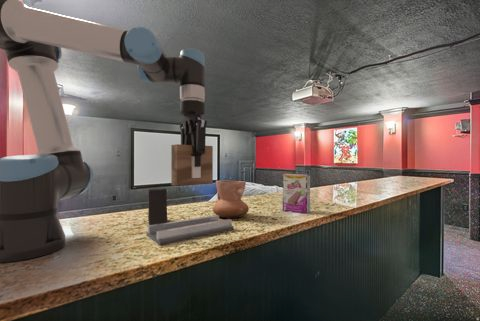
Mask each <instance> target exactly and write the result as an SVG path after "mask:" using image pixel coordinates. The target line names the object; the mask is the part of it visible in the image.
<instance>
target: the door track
mask: <svg viewBox="0 0 480 321" xmlns="http://www.w3.org/2000/svg"><path fill="white" fill-rule="evenodd" d="M234 229H235V228H234V225H233V220H232V218H226V219H220V216H219V215H216V214H215V215H208V216H202V217H195V218H188V219H181V220H175V221H170V222H168V221H167V223H161V224H155V225H149V224H148V225H147V231H146V236H147V237H148V238H150V239H151V240H152V241H153V242H155V243H156V244H157V245H159V246H161V245H165V244H166V245H167V244H171V243H176V242H177V243H178V242H180V241H182V242H183V241H185V240H191V239H195V238H196V239H197V238H200V237H201V238H202V237H205V236H209V235H210V236H211V235H215V234H220V233H224V232H228V231H234Z"/></svg>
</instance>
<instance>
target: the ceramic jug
mask: <svg viewBox="0 0 480 321" xmlns="http://www.w3.org/2000/svg"><path fill="white" fill-rule="evenodd" d="M246 184H247V183H246V181H245V180H244V181H241V180H230V179H229V180H226V179H225V180H224V179H223V180H216V181H215V185H216V190H217V193H216V195H217V196H216V197H217V202H216V203H214V204H213V206H212V212H213V213H214V214H215V215H219V218H220V217H221V218H226V219H233V218H234V219H235V218H236V219H237V218H240V217H243V216H245V215H247V213H249V205H248V204H247V203H246V202H244V201H243V200H242V197H243V194H244V193H245V188H246Z"/></svg>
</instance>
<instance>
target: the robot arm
mask: <svg viewBox="0 0 480 321" xmlns="http://www.w3.org/2000/svg"><path fill="white" fill-rule="evenodd" d="M0 49H1V50H3V51H4V53H5V56H6V59H7V65H8V66H9V68H11V69H12V70H14V71H15V72H17V75H18V80H19V82H20V86H21V90H22V94H23V99H24V101H25V105H26V109H27V113H28V117H29V121H30V124H31V129H32V133H33V136H34V140H35V144H36V148H37V153H36V154H23V155H22V154H20V155H10V156H3V157H1V158H0V263H11V262H18V261H25V260H30V259H34V258H38V257H39V258H40V257H43V256H46V255H50V254H52V253H55V252H57V251H59V250H61V249H62V248H64V247H65V246H66V234H65V231H64V229H63V226H62V223H61V221H60V218H59V216H58V201H62V200H66V199H67V200H68V199H73V198H75V197H77V196H80V195H82V194H84V193H85V192H87V191H88V190H89V188H90V187H91V185H93V184H92V183H93V181H94V171H93V169H92V166H90V164H89V163H87V161H84V159H83V156H82V152H81V149H78V148H77V147H75V146H74V144H73V141H72V137H71V133H70V129H69V125H68V122H67V121H68V120H67V117H66V114H65V109H64V106H63V102H62V97H61V94H60V90H59V86H58V82H57V79H56V75H55V71H57V70H58V68H59V62H60V60H61V58H62V49H65V50H66V49H67V50H71V51H74V52H78V53H79V52H80V53H83V54H87V55H93V56H97V57H101V58H107V59H111V60H115V61H119V62H124V63H128V64H131V65H136V66H137V74H138V76H139V78H140V80H141V81H142V82H144V83H150V84H151V83H152V84H156V83H157V84H158V83H160V84H161V83H162V84H164V83H165V84H180V85H179V100H180V102H179V113H180V115H183V116H184V118H183V119H184V120H183V124H180V125H179V129H180V130H179V131H180V145H192V148H193V154H191V156H192V178H201V156H202V154H205V146H206V131H207V130H206V128H207V122H208V120H204V119H203V118H202V116H204V115H205V112H206V105H205V101H206V99H205V96H206V93H205V87H206V86H205V85H206V65H205V63H206V61H205V55H204V53H203V51H201V50H199V49H197V48H193V47H190V48H184V49H182V50H181V51H180V54H179V56H167V55H166V53H165V51H164V50H163V47H162V45H161V43H160V41H159V39H158V38H157V37H156V35H155V34H154V32H152V31H151V30H150V29H149V28H146V27H144V26H136V27H132V28H130V29H129V30H126V29H121V28H117V27H113V26H109V25H104V24H101V23H96V22H92V21H88V20H85V19H80V18H75V17H71V16H66V15H62V14H59V13H54V12H50V11H47V10H42V9H37V8H33V7H29V6H28V5H26V4H25V2H23V1H21V0H0Z"/></svg>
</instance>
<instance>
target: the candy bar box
mask: <svg viewBox="0 0 480 321" xmlns="http://www.w3.org/2000/svg"><path fill="white" fill-rule="evenodd" d="M283 210H285V211H284V212H289V211H292V212H291V213H296V212H301V213H300V214H305V213H307V214H309V213H310V212H311V174H297V173H296V174H294V173H285V174H282V211H283ZM309 211H310V212H309ZM308 212H309V213H308Z"/></svg>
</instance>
